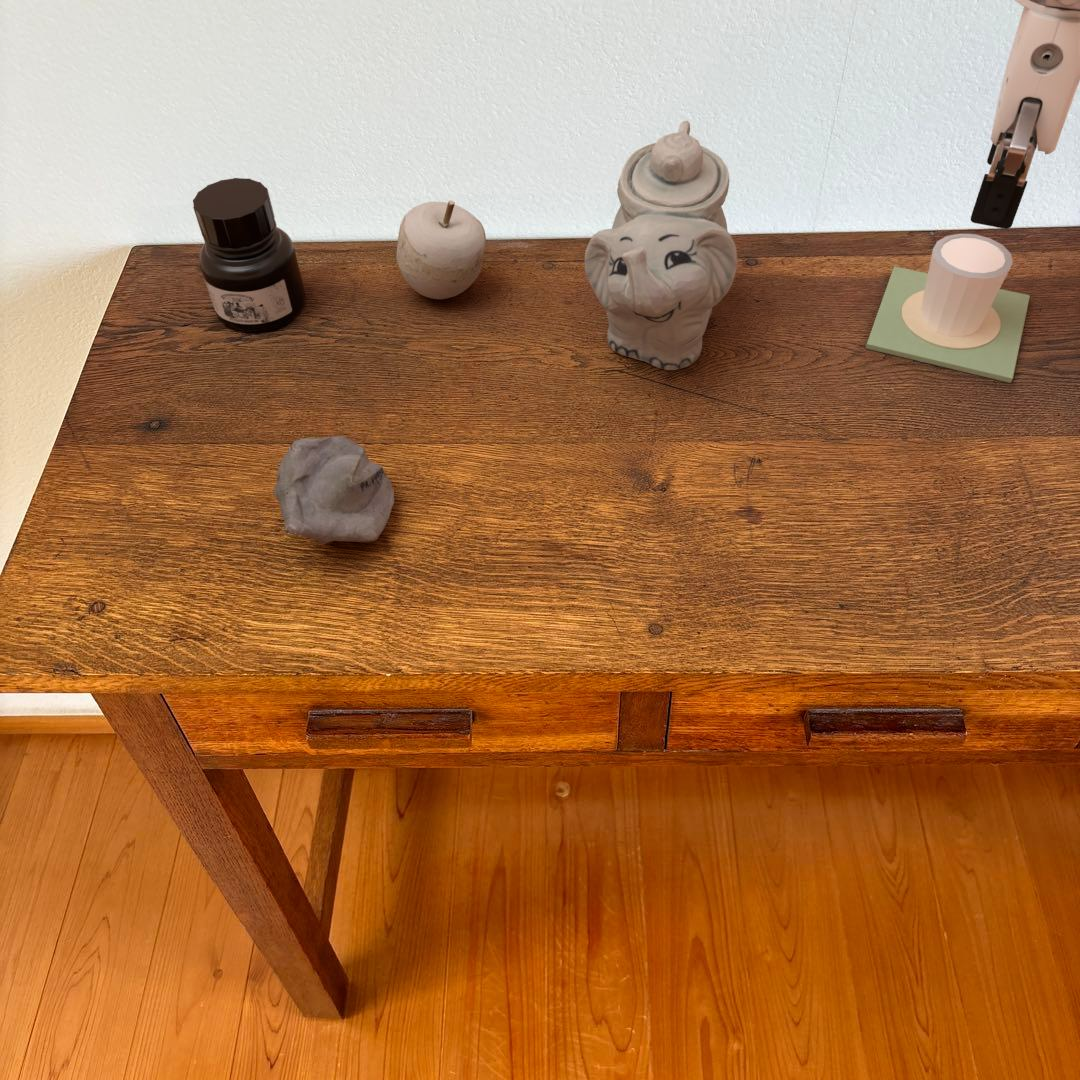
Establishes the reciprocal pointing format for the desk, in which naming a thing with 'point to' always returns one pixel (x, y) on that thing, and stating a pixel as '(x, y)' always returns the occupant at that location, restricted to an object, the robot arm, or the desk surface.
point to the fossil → (332, 491)
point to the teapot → (664, 252)
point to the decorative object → (440, 249)
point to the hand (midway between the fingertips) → (998, 194)
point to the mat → (972, 354)
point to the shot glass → (963, 283)
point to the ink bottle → (247, 257)
